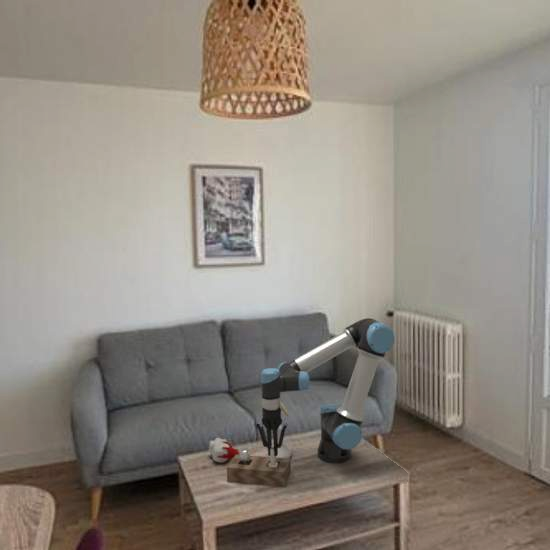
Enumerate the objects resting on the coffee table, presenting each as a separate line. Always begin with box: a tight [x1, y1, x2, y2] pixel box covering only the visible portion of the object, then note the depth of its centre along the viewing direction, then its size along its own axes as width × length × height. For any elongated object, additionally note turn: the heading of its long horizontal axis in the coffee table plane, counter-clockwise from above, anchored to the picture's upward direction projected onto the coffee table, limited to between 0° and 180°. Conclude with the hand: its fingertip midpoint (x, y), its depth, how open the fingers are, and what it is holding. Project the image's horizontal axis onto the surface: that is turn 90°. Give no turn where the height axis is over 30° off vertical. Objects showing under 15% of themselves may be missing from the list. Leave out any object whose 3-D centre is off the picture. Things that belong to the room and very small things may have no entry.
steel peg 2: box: [268, 462, 278, 467], centre depth 205 cm, size 4×4×6 cm
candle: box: [208, 437, 240, 464], centre depth 223 cm, size 9×11×15 cm
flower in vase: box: [266, 402, 293, 459], centre depth 224 cm, size 13×11×25 cm
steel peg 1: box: [239, 447, 251, 465], centre depth 208 cm, size 4×4×6 cm
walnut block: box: [226, 454, 292, 488], centre depth 207 cm, size 24×12×6 cm, turn 77°
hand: (273, 463), depth 205 cm, fingers closed
